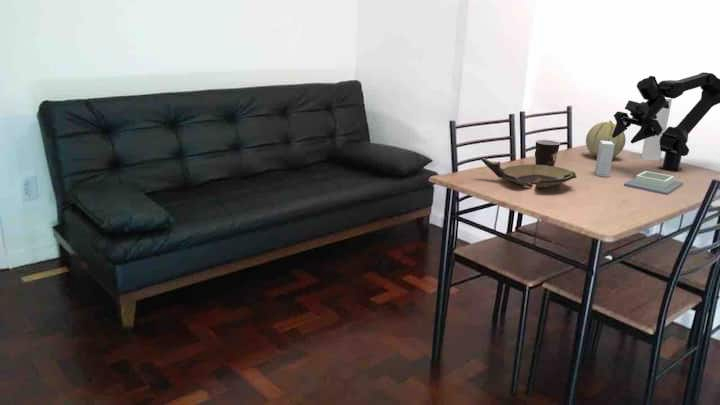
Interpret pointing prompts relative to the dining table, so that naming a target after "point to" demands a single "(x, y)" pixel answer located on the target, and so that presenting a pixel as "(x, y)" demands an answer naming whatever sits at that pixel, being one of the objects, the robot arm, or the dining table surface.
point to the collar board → (654, 182)
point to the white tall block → (653, 143)
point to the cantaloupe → (604, 138)
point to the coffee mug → (546, 152)
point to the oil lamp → (532, 174)
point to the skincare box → (604, 158)
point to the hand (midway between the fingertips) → (621, 139)
